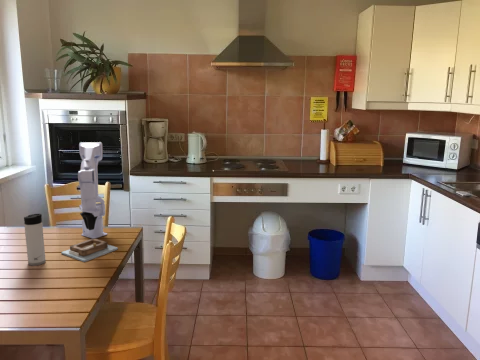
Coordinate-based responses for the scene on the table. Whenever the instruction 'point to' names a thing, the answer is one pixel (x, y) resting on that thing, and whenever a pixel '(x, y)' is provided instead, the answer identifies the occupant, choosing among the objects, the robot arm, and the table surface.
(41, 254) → the travel mug
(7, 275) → the table surface
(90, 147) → the robot arm
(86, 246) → the frame
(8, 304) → the table surface
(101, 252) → the wall board
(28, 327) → the table surface
